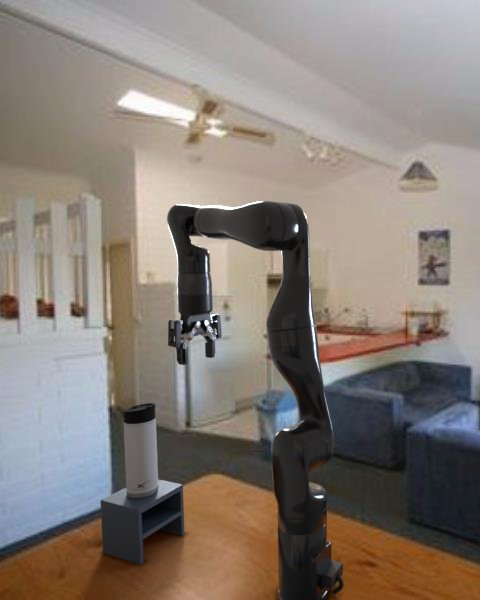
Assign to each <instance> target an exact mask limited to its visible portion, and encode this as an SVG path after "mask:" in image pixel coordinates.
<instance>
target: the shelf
mask: <svg viewBox="0 0 480 600" xmlns="http://www.w3.org/2000/svg"><path fill="white" fill-rule="evenodd" d="M99 501H100V519H101V536H102V537H101V539H102V553H103V554H105V555H108V556H112V557H116V558H119V559H121V560H124V561H128V562H131V563H135V564H138V565H142V564H143V563H144V541H143V540H144V539H146V538H148V537H149V536H151V535H152V534H154V533H156V532H157V531H159V530H160V531H163V532H166V533H169V534H170V533H171V534H174V535H177V536H184V535H185V533H186V532H185V505H184V485H183V484H182V483H177V482H172V481H168V480H164V479H159V478H158V490H157V492H155V493H154V494H152V495H150V496H148V497H144V498H136V499H135V498H130V497H128V496H127V488H126V487H124V488H121V489H120V490H118V491H115V492H114V493H112V494H110V495H108V496H106V497H103V498H101V499H100V500H99Z"/></svg>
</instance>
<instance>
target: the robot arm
mask: <svg viewBox="0 0 480 600" xmlns="http://www.w3.org/2000/svg"><path fill="white" fill-rule="evenodd" d="M166 216H167V217H166V224H167V228H168V230H169V233H170V236H171V240H172V243H173V245H174V250H175V253H176V260H177V262H176V263H177V278H176V300H177V312H178V313H179V315H180V317H179V319H169V320H168V321H167V322H168V323H167V332H168V333H167V346H168V347H172V348H175V350H176V362H177V364H178V365H179V366H180V365H181V366H185V365H188V363H189V357H188V348H187V347H188V345H189V344H190V342H191V341H193V339H194V337H198V336H202V337H203V339H204V340H205V342H204V353H205V354H204V355H205V358H208V359H209V358H210V359H213V358H215V356H216V342H217V340H219V339H221V338H222V336H223V334H222V333H223V332H222V319H221V314H218V313H211V312H213V309H214V308H213V307H214V306H213V281H212V280H213V279H212V274H211V254H210V253H211V252H210V251H209V249H208V248H206V247H202V246H199V245H196V244H194V243H193V242H192V240H191V237H199V238H202V237H203V238H208V239H213V240H224V241H225V240H227V241H229V240H232V241H236V242H239V243H241V244H244V245H246V246H248V247H250V248H253V249H256V250H259V251H263V252H280V253H281V264H282V265H281V267H282V268H281V269H282V272H281V281H280V284H279V287H278V289H277V292H276V294H275V296H274V299H273V300H272V303H271V306H270V308H269V311H268V313H267V317H266V322H265V323H266V324H265V325H266V335H267V343H268V351H269V356H270V359H271V361H272V363H273V365H274V367H275V368H276V369H277V371H278V372H279V374H280V375H281V377H282V378H283V379H284V380H285V382H286V383H287V384H288V386H289V387H290V388H291V390H292V393H293V395H294V396H295V401H296V405H297V410H298V419H299V420H298V422H297V423H295V424H291V425H289V426H287V427H284V428H282V429H280V430H278V431H277V432H276V433H275V434H274V436H273V437H272V440H271V444H270V446H271V447H270V464H271V477H272V489H273V493H274V497H275V501H276V506H277V507H276V508H277V564H278V565H277V566H278V567H277V568H278V574H277V575H278V591H277V593H278V594H277V596H278V600H324V599H325V598H326V597H327V595H328V594H329V592H330V591H331V590H332V589H333V590H332V594H333V595H337V594H338V593H339V592H341V591H342V589H343V588H344V585H345V584H344V583H345V582H344V580H343V578H342V576H343V575H344V563H343V562H341V561H337V560H333V559H332V555H333V552H332V551H333V550H332V549H333V548H332V545H333V544H332V542H331V541H329V540H328V494H327V490H326V489H325V488H324V486H323V485H321V484H319V483H316V482H311V481H310V479H309V473H312V472H314V471H315V470H318V469H320V468H322V467H323V466H326V465H327V464H328V463H329V462H330V461H331V460H332V459H333V458H334V455H335V449H336V439H335V434H334V433H335V431H334V427H333V423H332V418H331V413H330V409H329V406H328V405H329V404H328V401H327V397H326V391H325V385H324V378H323V373H322V365H321V359H320V358H321V357H320V346H319V336H318V329H317V328H318V327H317V321H316V315H315V309H314V301H313V289H312V280H311V248H310V245H311V244H310V229H309V222H308V218H307V217H308V216H307V215H306V212H305V210H304V209H303V208H302V207H301V206H300V205H299V204H297V203H296V204H295V203H290V202H281V201H272V200H271V201H270V200H261V201H256V202H252V203H247V204H245V205H242V206H237V207H230V206H223V205H207V206H203V205H202V206H200V205H192V204H182V203H181V204H178V203H177V204H174V205H173V206H171V207H170V208H169V210H168V211H167V215H166ZM337 583H338V586H337V587H335V586H336V585H337ZM334 587H335V588H334Z"/></svg>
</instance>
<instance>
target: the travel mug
mask: <svg viewBox="0 0 480 600" xmlns="http://www.w3.org/2000/svg"><path fill="white" fill-rule="evenodd" d="M122 414H123V443H124V444H123V445H124V463H125V464H124V465H125V483H126V484H125V486H126V487H125V488H127V496H128V497H130V498H135V499H136V498H144V497H148V496H150V495H152V494H154V493H155V492H157V490H158V479H159V467H158V466H159V465H158V446H157V445H158V441H157V440H158V439H157V438H158V437H157V417H156V403H154V402H153V403H151V402H150V403H149V402H148V403H141V404H136V405H131V407H129V408H127V409H126V408H125V409H123V413H122Z"/></svg>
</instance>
